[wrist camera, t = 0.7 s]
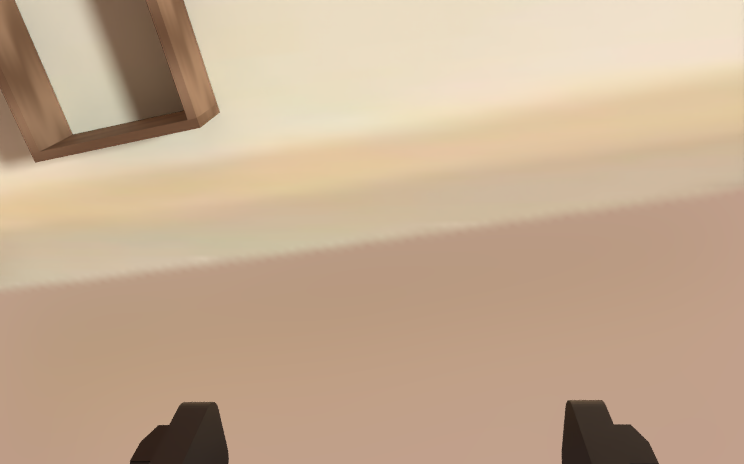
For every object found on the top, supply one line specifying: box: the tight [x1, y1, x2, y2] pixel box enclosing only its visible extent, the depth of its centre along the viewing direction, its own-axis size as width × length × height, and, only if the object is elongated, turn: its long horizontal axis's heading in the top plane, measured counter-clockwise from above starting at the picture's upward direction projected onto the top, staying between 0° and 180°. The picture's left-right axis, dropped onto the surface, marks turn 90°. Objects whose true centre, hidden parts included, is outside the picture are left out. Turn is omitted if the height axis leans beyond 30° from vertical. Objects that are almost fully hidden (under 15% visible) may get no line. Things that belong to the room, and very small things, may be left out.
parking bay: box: [0, 0, 220, 162], centre depth 37 cm, size 11×11×4 cm
